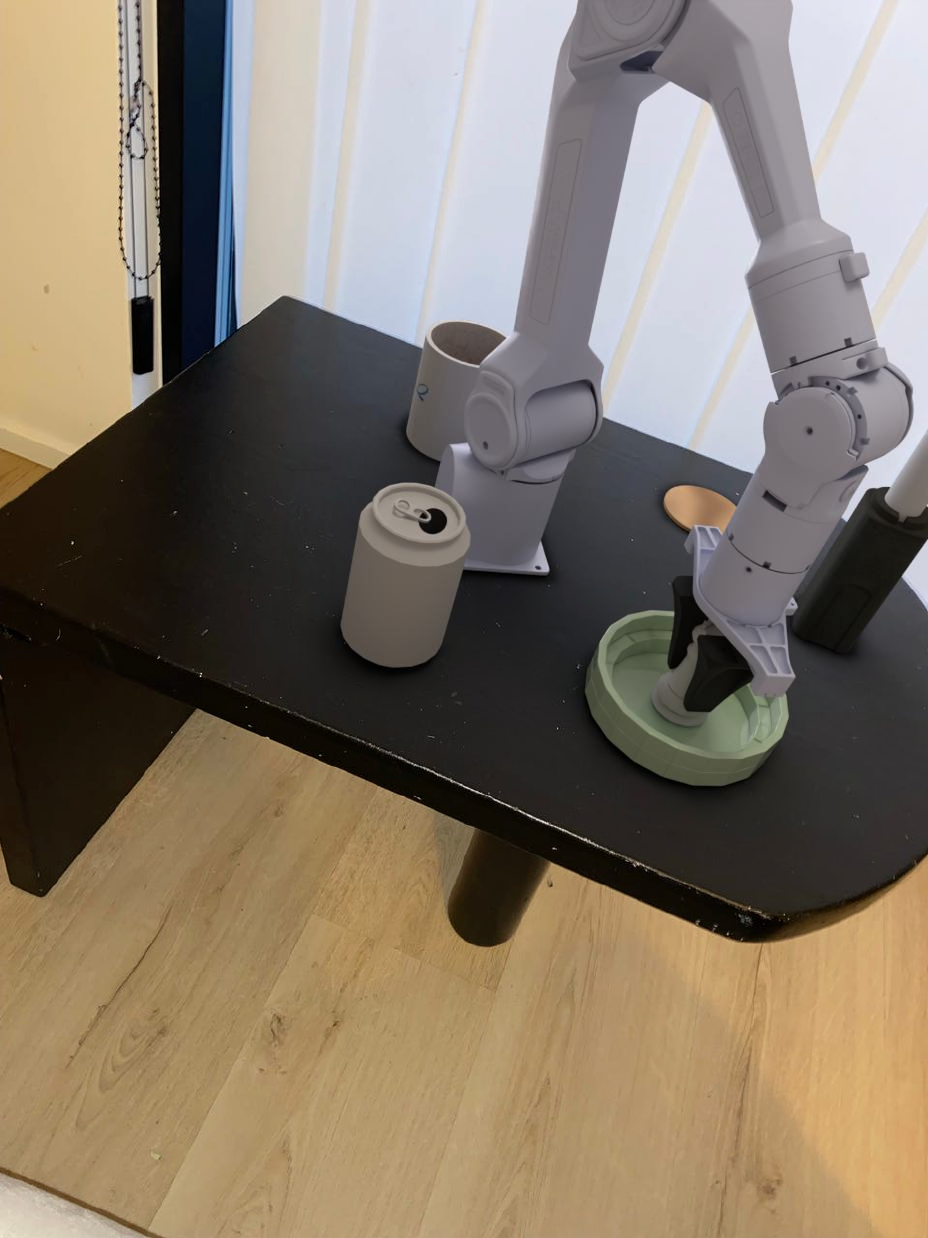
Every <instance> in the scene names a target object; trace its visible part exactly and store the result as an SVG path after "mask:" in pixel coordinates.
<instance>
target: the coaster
mask: <svg viewBox="0 0 928 1238" xmlns="http://www.w3.org/2000/svg"><path fill="white" fill-rule="evenodd" d="M736 507H737V506H736V505H735V504H734V503H733V502H732V501H731V500H730V499H728V498H727V497H725V496H723V495H722V494H720V493H718V492H715V490H711V489H708V488H706V487H701V486H698V485H697V486H696V485H689V484H688V485H687V484H686V485H678V486H674V487H672V488H670V489H669V490H668V491H667V492H666V493H665V495H664V498H663V508H664V510H665V513H666V514H667V515H668V517H669V518H670V519H671V520H672V521H673V523H675V524H676V525H677V526H679V527H680V528H681V529H683V530H685V531H686V532H688V533H690V531H691V529H692V527H693V525H702V526H713V527H718V528H719V529H720V531H721V533H722V534H723V532H724V530H725V529H726V527H727V525H728V523H729V521H730V519H731V517H732V515H733V513H734V511H735V509H736Z"/></svg>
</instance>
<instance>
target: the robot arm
mask: <svg viewBox="0 0 928 1238" xmlns="http://www.w3.org/2000/svg"><path fill="white" fill-rule="evenodd" d="M793 11H794V5H793V2H792V0H577V4H576V9H575V13H574V16H573V18H572V20H571V23H570V25H569V28H568V29H567V32H566V34H565V36H564V38H563V39H562V42H561V45H560V48H559V51H558V55H557V60H556V64H555V70H554V76H553V84H552V89H551V95H550V100H549V101H550V102H549V107H548V108H549V109H548V115H547V121H546V125H545V126H546V127H545V132H544V139H543V145H542V152H541V158H540V163H539V164H540V165H539V169H538V177H537V182H536V188H535V195H534V201H533V206H532V214H531V220H530V226H529V233H528V237H527V238H528V239H527V245H526V249H525V250H526V251H525V258H524V264H523V270H522V276H521V280H520V281H521V282H520V288H519V295H518V301H517V307H516V313H515V318H514V326H513V330H512V332H511V333H510V334H509V335H508V337H507V338H506V339H505V340H504V341H503V342H502V343H501V344H500V345H499V346H498V347H497V348H496V349H495V350H494V351H492V352H491V353H490V354H489V355H488V356H487V357H486V358H485V359H484V360H483V361H482V362H481V364H480V366H479V373H478V379H477V383H476V386H475V388H474V390H473V391H472V393H471V394H470V396H469V397H468V399H467V402H466V405H465V408H464V416H463V423H464V432H465V436H466V440H467V442H468V443H461V444H449V445H447V446H446V448H445V450H444V452H443V455H442V459H441V461H440V463H439V467H438V471H437V476H436V480H435V484H434V488H437V489H439V490H442V491H444V492H445V493H447V494H448V495H450V496H451V497H453V498H454V499H455V500H456V501H457V502H458V503H459V505H460V506H461V507H462V508H463V511H464V513H465V515H466V525H467V527H468V530H469V532H470V534H471V536H470V547H469V550H468V554H467V557H466V561H465V564H464V568H463V571H479V572H490V573H491V572H493V573H506V574H516V575H517V574H519V575H533V576H547V575H548V574H549V573H550V567H549V563H548V560H547V557H546V553H545V550H544V546H543V543H542V538H543V535H544V533H545V529H546V526H547V523H548V521H549V518H550V515H551V512H552V509H553V507H554V504H555V501H556V497H557V495H558V492H559V489H560V487H561V485H562V481H563V478H564V475H565V472H566V470H567V466H568V464H569V463H570V462H572V461H573V460H574V457H575V455H576V451H577V448H579V447H584V446H586V445H588V444H590V443H591V442H592V441H593V440H594V439H595V438H596V437H597V435H598V434H599V432H600V430H601V427H602V423H603V419H604V404H603V398H602V379H603V374H604V370H605V366H604V363H603V362H602V360H601V359H600V357H598V355H597V354H596V353H595V352H594V351H593V349H592V348H591V347H590V344H589V342H590V337H591V334H592V328H593V323H594V319H595V315H596V310H597V305H598V300H599V295H600V291H601V286H602V281H603V277H604V272H605V268H606V262H607V258H608V253H609V248H610V243H611V239H612V235H613V229H614V225H615V220H616V214H617V210H618V207H619V201H620V198H621V197H620V196H621V191H622V187H623V183H624V182H623V181H624V178H625V172H626V168H627V163H628V160H629V154H630V150H631V144H632V140H633V134H634V131H635V125H636V120H637V115H638V113H639V112H638V111H639V108H640V106H641V104H642V103H643V101H645V100H646V99H647V98H649V97H651V96H652V95H654V93H656V92H658V91H659V90H661V88H663V87H664V86H666V85H668V83H672V84H674V85H676V86H677V87H679V88H681V89H683V90H685V91H686V92H689V93H690V94H692V95H694V96H696V97H697V98H699V99H701V100H703V101H704V102H705V103H707V104H708V105H709V106H710V108H711V110H712V112H713V116H714V119H715V121H716V124H717V127H718V130H719V133H720V136H721V139H722V142H723V145H724V148H725V150H726V154H727V157H728V159H729V162H730V163H729V164H730V165H731V169H732V171H733V174H734V177H735V180H736V183H737V186H738V189H739V191H740V195H741V197H742V201H743V203H744V207H745V209H746V212H747V215H748V218H749V221H750V225H751V227H752V230H753V232H754V235H755V239H756V242H757V244H756V248H755V250H754V253H753V255H752V257H751V259H750V261H749V263H748V265H747V268H746V269H745V272H744V282H745V285H746V289H747V292H748V296H749V300H750V304H751V307H752V311H753V314H754V318H755V321H756V325H757V329H758V332H759V337H760V340H761V343H762V344H761V345H762V348H763V351H764V354H765V355H764V356H765V358H766V363H767V366H768V369H769V373H770V377H771V380H772V385H773V388H774V391H775V394H776V397H777V400H774V401H769V402H768V403H767V406H766V408H765V411H764V415H763V422H762V434H763V440H764V454H763V456H762V458H761V460H760V462H759V464H757V467H756V468H755V470H754V472H753V475H752V476H751V478H750V480H749V481H748V483H747V486H746V487H745V489H744V492H743V494H742V495H741V498H740V500H738V501H739V502H738V504H737V506H736V509H735V511H734V513H733V515H732V517H731V519H730V521H729V523H728V525H727V527H726V529H725V530H724V532H723V534H722V533H721V531H720V529H719V528H718V527H713V526H702V525H693V527H692V529H691V531H690V532H688V533H689V534H688V536H687V538H686V540H685V541H684V544H683V546H684V548H685V551H686V552H687V553H688V554H689V555H690V556H691V555H692V556H693V574H692V575H677V576H676V577H674V579H672V582H671V588H672V589H671V590H672V594H673V612H674V623H673V631H672V637H671V642H670V647H669V653H668V659H667V664H668V667H669V669H675V668H677V667H678V666H679V665H680V663H681V662H682V661H683V660H684V658H685V657H686V656H687V654H688V651H687V648H688V646H689V644H691V643H693V642H694V640H693V635H692V632H693V630H694V628H695V627H696V626H698V625H700V624H703V623H704V621H708V620H709V619H710V620H711V621H712V622H713V623H714V624H715V625H716V627H717V628H718V629H719V630H720V631H721V632H722V633H723V634H724V635H725V636H717V635H699V636H698V638H697V643H698V657H697V663H696V668H695V671H694V674H693V677H692V679H691V681H690V684H689V686H688V688H687V691H686V693H685V696H684V702H683V705H684V707H685V710H686V711H688V712H711V711H712V710H714V709H715V708H716V707H717V706H718V705H719V704H720V703H722V702H723V701H724V700H725V699H726V698H728V697H729V696H730V695H732V694H733V693H734V692H736V691H737V690H739V689H740V688H742V687H743V686H745V685H747V684H749V683H750V687H751V689H752V692H753V694H754V695H755V696H764V697H783V695H784V694H785V693H786V692H787V691H788V689H789V688H790V687H791V685H792V683H793V682H794V681H795V679H796V677H797V676H796V674H795V672H794V670H793V667H792V665H791V661H790V653H789V643H788V642H789V641H788V632H787V631H788V629H787V618H786V616H793V615H794V612H795V611H796V609H797V608H798V606H797V604H796V603H797V601H796V600H795V598H794V595H795V593H796V592H797V590H798V589H799V587H800V586H801V584H802V582H803V580H804V579H805V578H806V576H807V574H808V572H809V571H810V569H811V567H812V566H813V564H814V562H815V561H816V559H817V558H818V556H819V555H820V553H821V551H822V550H823V548H824V546H825V545H826V543H827V541H828V540H829V538H830V537H831V535H832V533H833V532H834V530H835V528H836V527H837V525H838V524H839V522H840V521H841V519H842V517H843V515H844V514H845V512H846V511H847V509H848V507H849V505H850V502H851V501H852V498H853V497H854V495H855V494H856V492H857V490H858V489H859V487H860V486H861V483H862V482H863V481H864V479H865V478H866V476H867V474H868V472H869V470H870V469H869V466H868V465H866V464H869V463H871V462H873V461H876V460H878V459H880V458H882V457H884V456H886V455H887V454H889V453H890V452H892V451H894V450H895V449H896V448H898V446H900V444H901V443H902V442H903V441H904V440H905V439H906V437H907V435H908V434H909V431H910V429H911V427H912V424H913V420H914V413H915V408H914V400H913V395H914V385H913V384H912V382H911V381H910V379H909V377H908V376H907V374H905V372H903V370H902V369H901V368H899V367H898V366H897V365H896V364H893V363H892V362H890V361H889V358H888V354H887V351H886V348H885V347H884V346H883V347H881V346H879V343H878V339H877V335H876V331H875V327H874V324H873V320H872V316H871V312H870V309H869V305H868V301H867V297H866V292H865V289H864V286H863V285H864V284H863V281H862V279H864V278H867V277H869V276H870V268H869V264H868V259H867V256H866V253H865V252H863V251H859V252H855V250H854V246H853V243H852V239H851V236H850V234H849V235H848V233H846V232H844V231H841V230H840V229H838V228H836V227H835V226H833V225H831V224H829V223H828V222H826V221H825V220H824V219H823V218H822V215H821V210H820V209H821V208H820V204H819V199H818V194H817V193H818V192H817V189H816V184H815V179H814V173H813V169H812V163H811V157H810V152H809V147H808V142H807V136H806V131H805V125H804V122H803V116H802V110H801V106H800V105H801V104H800V100H799V94H798V89H797V83H796V79H795V74H794V69H793V62H792V59H791V57H792V56H791V52H790V44H789V40H790V32H791V25H792V19H793Z"/></svg>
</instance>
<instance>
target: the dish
mask: <svg viewBox="0 0 928 1238" xmlns="http://www.w3.org/2000/svg"><path fill="white" fill-rule="evenodd" d="M673 623H674V610H656V609H652V610H651V609H650V610H645V611H640V612H635V613H629V614H627V615H626V616H624V617H622V618H620V619H619V620H617V621H616V622H614V623H612V624H610V625H609V627H608V628H607V629H606V631H605V633H604V635H603V636H602V637H601V639H600V641H599V642H598V645H597V647H596V649H595V651H594V654H593V656H592V658H591V661H590V662H589V665H588V667H587V669H586V676H585V677H586V678H585V685H584V694H585V697H586V700H587V703H588V706H589V710H590V713H591V716H592V717H593V719H594V721H595V722H596V724H597V725H598V727H599V728H600V730H601V732H603V734H604V736H605V737H606V738H607V740H609V742H610V743H612V744H613V745H614V746H615V747H616V748H618V750H619V751H621V752H622V753H623V754H624V755H626V756H627V757H628V758H629V759H630V760H632V761H633V762H634V763H636V764H638V765H640V766H642V767H643V768H645V769H646V770H649V771H651V772H652V773H655V774H656V775H658V776H659V777H663V778H665V779H669V780H673V781H676V782H679V783H682V784H683V783H684V784H687V785H690V786H694V787H695V786H697V787H698V786H699V787H700V786H703V787H705V786H707V787H723V786H727V785H730V784H734V783H736V782H739V781H742V780H746V779H747V778H750V777H751V776H752V775H753V774H754V773H755V772H756V771H757V770H758V769H759V768H761V766H763V765H764V764H765V762H766V761H767V759H768V758H769V757H770V755H771V754H772V752H773V751H774V749H775V748H776V747H777V745H778V744H779V743H780V741H781V739H783V736H784V733H785V730H786V727H787V724H788V721H789V719H790V714H789V707H788V697H787V694H786V692H785V694H784V695H783V697H764V696H755V695H754V694H753V692H752V689H751V687H750V683H749V684H747V685H745V686H743V687H742V688H740V689H739V690H737V691H736V692H734V693H733V694H732V695H730V696H729V697H728V698H726V699H725V700H724V701H723V702H722V703H720V704H719V705H718V706H717V707H716V708H715V709H714V710H712V711H711V712H709V714H708V717H707V719H706V721H704V722H702V723H701V724H699V725H696V726H687V727H683V726H679V725H674V724H672V723H671V722H669V721H667V720H665V719H664V718H663V717H662V716H661V715H660V714H659V713H658V712H657V710H656V708H655V706H654V704H653V702H652V695H651V691H652V689H653V688H654V686H655V685H656V684H657V682H658V680H659V679H660V677H661V676H662V675H664V674H665V673H667V672H669V671H671V670H673V669H669V667H668V664H667V659H668V653H669V647H670V642H671V637H672V631H673Z"/></svg>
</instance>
